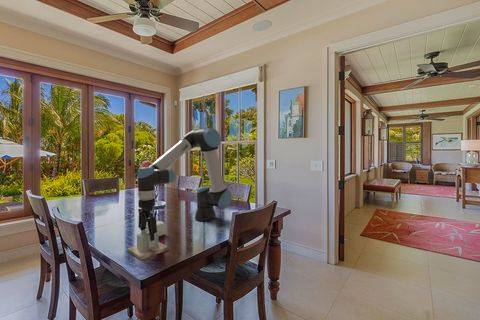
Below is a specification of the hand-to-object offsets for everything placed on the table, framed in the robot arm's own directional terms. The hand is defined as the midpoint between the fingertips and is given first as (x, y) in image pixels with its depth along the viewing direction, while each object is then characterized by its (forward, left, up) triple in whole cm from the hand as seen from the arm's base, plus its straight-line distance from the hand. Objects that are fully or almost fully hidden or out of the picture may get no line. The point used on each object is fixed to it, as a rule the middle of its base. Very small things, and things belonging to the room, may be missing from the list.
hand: (147, 244), depth 115 cm
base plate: (0, 0, -3) cm, 3 cm away
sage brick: (0, 0, -2) cm, 2 cm away
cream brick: (-13, -16, -3) cm, 21 cm away
